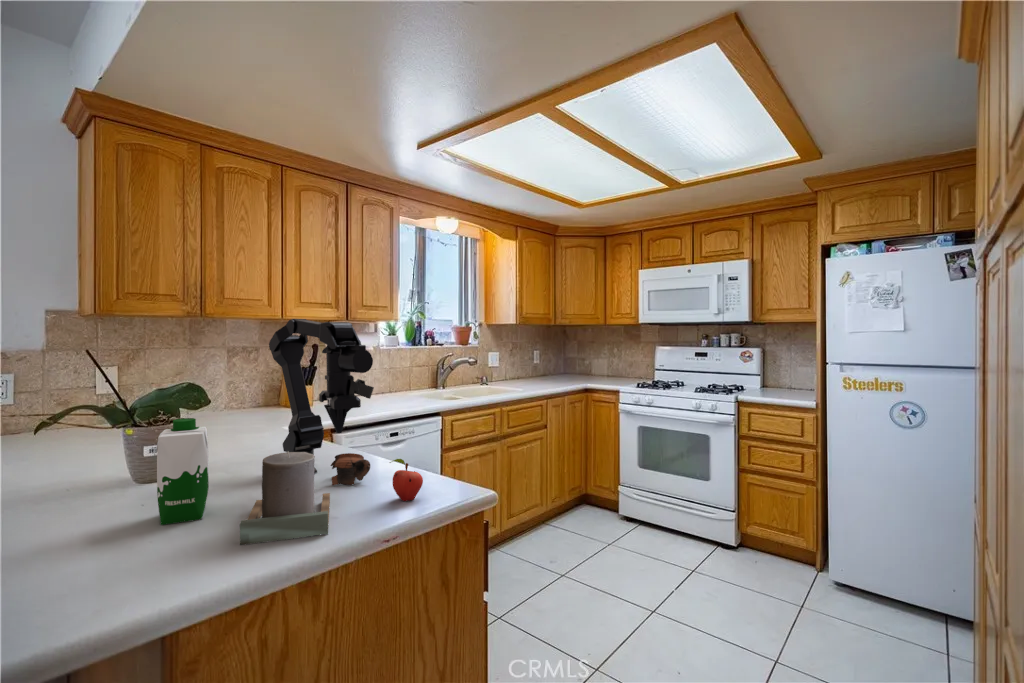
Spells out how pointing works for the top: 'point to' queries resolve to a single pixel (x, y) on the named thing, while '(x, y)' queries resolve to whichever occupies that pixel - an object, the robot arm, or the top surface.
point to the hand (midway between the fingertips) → (339, 432)
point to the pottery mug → (349, 468)
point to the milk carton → (182, 472)
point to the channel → (284, 524)
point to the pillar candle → (287, 484)
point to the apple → (406, 482)
